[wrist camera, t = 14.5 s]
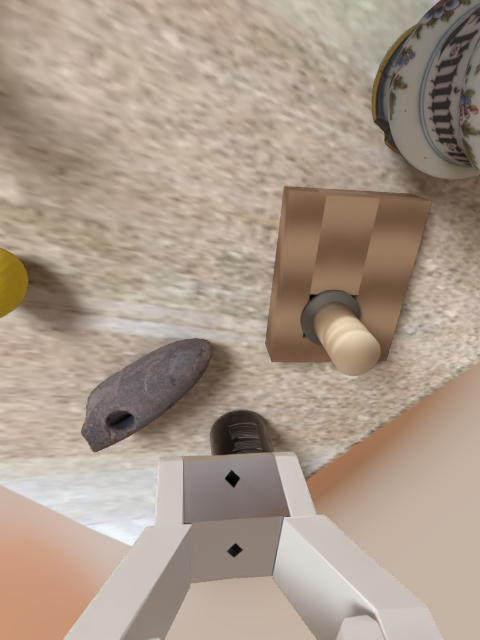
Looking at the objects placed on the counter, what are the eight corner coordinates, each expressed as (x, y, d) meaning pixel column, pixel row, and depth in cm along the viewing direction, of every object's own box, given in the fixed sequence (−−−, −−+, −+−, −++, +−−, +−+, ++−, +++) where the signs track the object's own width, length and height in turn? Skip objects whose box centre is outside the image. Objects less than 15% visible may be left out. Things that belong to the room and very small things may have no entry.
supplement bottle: (197, 438, 47) (202, 532, 36) (232, 399, 45) (248, 486, 34) (243, 459, 49) (260, 553, 39) (278, 423, 47) (305, 511, 37)
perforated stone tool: (195, 313, 39) (198, 350, 33) (223, 349, 42) (231, 390, 36) (76, 386, 42) (58, 433, 35) (109, 417, 44) (97, 466, 38)
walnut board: (284, 186, 35) (294, 193, 32) (410, 193, 37) (431, 201, 34) (265, 343, 42) (272, 362, 39) (371, 343, 44) (386, 360, 41)
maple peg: (296, 276, 39) (330, 324, 30) (350, 277, 39) (399, 325, 31) (288, 326, 41) (317, 385, 32) (340, 327, 42) (382, 384, 33)
